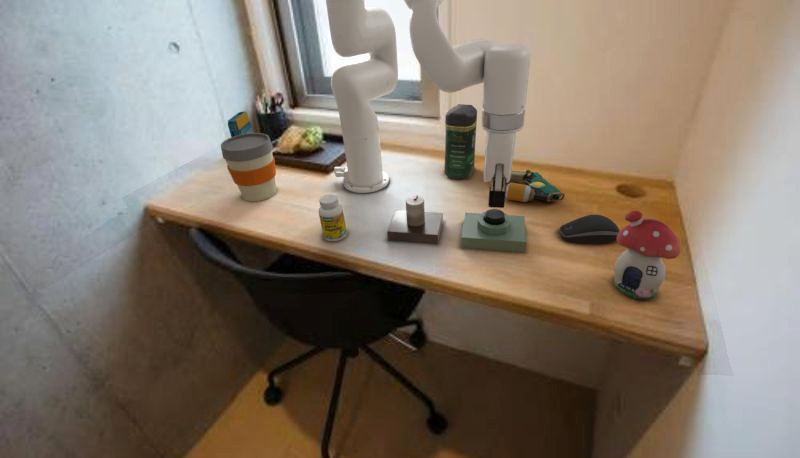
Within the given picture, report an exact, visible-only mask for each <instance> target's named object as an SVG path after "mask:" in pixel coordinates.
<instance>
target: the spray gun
mask: <svg viewBox="0 0 800 458" xmlns="http://www.w3.org/2000/svg"><path fill="white" fill-rule="evenodd" d="M564 198H565V193H564V192H561V190H559V189H558V188H557V187H556V185H552V184H551V183H550V182H548V181H547V180H546V179H545V178H544V177H543V176H542V174H541V173H539V172H537V171H532V170H530V169H529V168H527V169H526V170H525V171H519V170H511V175H510V181H509V182H508V183H507V185H506V193H505V199H506V200H508V201H513V202H514V201H516V202H520V203H527V202H528V201H529V202H531V201H533V200H534V199H536V200H541V201H545V202H547V203H550V202H557V201H563V200H564Z"/></svg>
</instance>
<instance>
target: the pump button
mask: <svg viewBox="0 0 800 458" xmlns="http://www.w3.org/2000/svg"><path fill="white" fill-rule="evenodd" d="M484 212H485V222H486V223H487V224H490V225H501V224H503V223H504V216H505V214H504V213H505V212H504V211H503V210H501V209H499V208H490V209H487V210H486V211H484Z"/></svg>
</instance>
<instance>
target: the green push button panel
mask: <svg viewBox="0 0 800 458" xmlns="http://www.w3.org/2000/svg"><path fill="white" fill-rule="evenodd" d="M485 212H486V211H483V212H482V213H479V212H464V216H463V217H464V218H463V225H462V230H461V236H460V248H461V249H463V248H464V249H475V250H488V251H499V252H500V251H502V252H513V253H526V248H527V247H526V246H527V235H526V234H527V233H526V219H525V215H513V214H507V213H505V212H504V214H505V216H504V223H503V224H501V225H490V224H487V223H486V222H485Z"/></svg>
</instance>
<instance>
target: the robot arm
mask: <svg viewBox="0 0 800 458" xmlns="http://www.w3.org/2000/svg"><path fill="white" fill-rule="evenodd" d="M403 1H404V3H405V4H406V6H407V8H408V10H409V12H410V13H409V24H408V25H409V27H408V28H409V36H410V37H409V38H410V45H411V48H412V52H413V54H414V57H415V59H416V60H417V62H418V64H420V67H421V68H422V70H423V71H424V74H425V75H426V76H427V78H428V80H429V81H430V82H431V83H432V84H433V86H435V87H436V88H437V89H438V90H440V91H442V92H443V93H450V94H451V93H456V92H459V91H462V90H464V89H465V90H466V89H467V88H470V87H472V86H476V85H480V84H483V87H482V88H483V89H482V91H483V92H482V106H481V107H482V110H481V129H482V130H483V131H485V132H486V135H485V147H484V166H483V182H484V183H490V186H489V187H488V189H489V190H488V204H487V206H488V207H489V208H493V209H504V208H505V205H506V196H505V193H506V188H507V186H506V184H509V181H510V175H511V171H513V170H512V169H513V162H514V156H515V155H514V154H515V147H516V146H515V145H516V137H517V132H520V131H522V130H523V129H524V124H525V116H526V115H525V113H526V104H527V94H528V84H529V75H530V66H531V52H530V49H529V48H528V47H527V46H525V45H522V44H515V43H506V44H502V43H498V42H495V41H492V40H488V39H483V38H480V39H479V38H477V39H472V40H470V41H464V42H461V43H457V44H454V45H452V44H451V42H450V41H449V40H448V38H447V36H446V34H445V33H444V31H443V29H442V27H441V25H440V22H439V19H438V13H437V11H438V7H440V5H442V3H443V2H444V0H403ZM325 5H326V11H327V12H326V13H327V19H328V20H327V21H328V26H329V33H330V39H331V44H332V47H333V49H334V52H335V53H336V54H337V55H339V56H340V57H342V58H354V57H360V56H363V55H367V58H365V59H360V60H356V61H352V62H348V63H345V64H343V65H341V66H339V67H337V69H335V70H334V72H333V73H332V74H331V79H330V87H331V91H332V94H333V97H334V100H335V103H336V106H337V111H338V115H339V121H340V128H341V134H342V142H343V147H344V155H345V162H346V166H344V167H343V166H334V168H333V173H334V174H335V177H336V178H344V179H343V181H342V182H343V187H344V188H345V189H346V190H347V191H349V192H352V193H357V194H368V193H369V194H370V193H375V192H377V191H380V190H382V189H384V188H385V187H387V186H388V185H389V183H390V176H389V175H388V174H387V173H386V172H385V171H383V160H382V159H383V158H382V149H381V137H380V127H379V119H378V116H377V113H376V111H375V110H374V109H373V108H372V106H371V104H370V102H371V101H373V100H375V99H379V98H382V97H384V96H387V95H389V94H391V93H392V92H394V90H395V89H396V87H397V85H398V81H399V68H398V67H399V66H398V65H399V64H398V52H397V51H398V49H397V48H398V47H397V46H398V45H397V35H396V33H397V32H396V27H395V24H394V21H393V20H392V17H391V16H390V14H389V13H388V12H387V11H386V10H385V9H384V8H381V7H378V6H371V7H366V6H367V5H366V0H325Z"/></svg>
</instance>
